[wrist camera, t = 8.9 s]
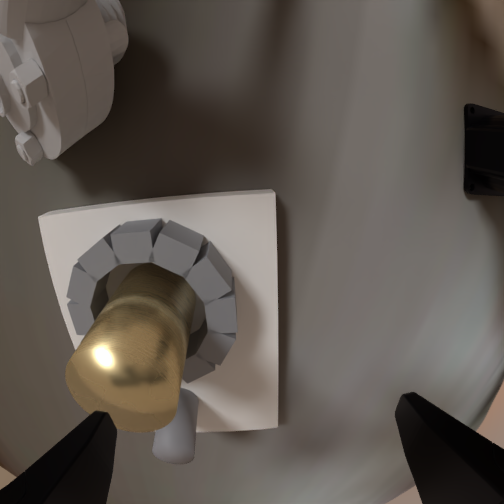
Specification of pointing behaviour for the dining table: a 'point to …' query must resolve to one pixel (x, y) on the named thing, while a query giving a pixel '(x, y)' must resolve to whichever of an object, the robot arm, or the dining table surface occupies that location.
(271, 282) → the stone fire pit
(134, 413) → the brass cylinder
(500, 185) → the robot arm
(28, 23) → the mechanical valve
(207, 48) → the dining table surface
